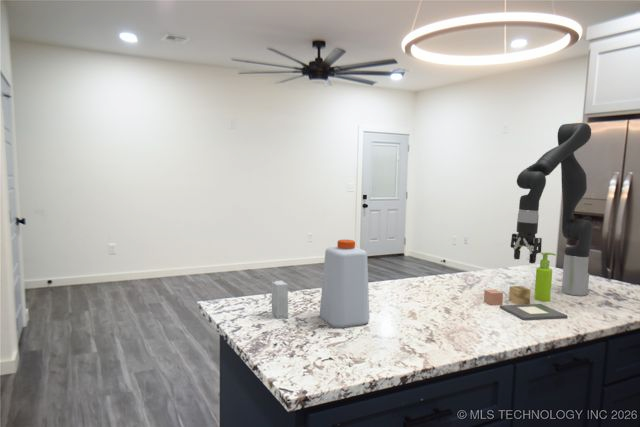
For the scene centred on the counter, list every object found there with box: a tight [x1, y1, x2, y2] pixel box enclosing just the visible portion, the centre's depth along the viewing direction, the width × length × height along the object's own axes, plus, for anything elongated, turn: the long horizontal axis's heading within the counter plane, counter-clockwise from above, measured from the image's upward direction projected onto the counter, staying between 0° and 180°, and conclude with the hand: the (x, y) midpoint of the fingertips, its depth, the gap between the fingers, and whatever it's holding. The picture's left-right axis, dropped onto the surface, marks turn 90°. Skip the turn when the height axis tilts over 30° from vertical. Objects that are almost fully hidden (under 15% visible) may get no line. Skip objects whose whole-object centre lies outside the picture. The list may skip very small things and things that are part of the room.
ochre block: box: [508, 285, 532, 305], centre depth 169 cm, size 6×6×6 cm
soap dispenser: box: [533, 251, 557, 302], centre depth 173 cm, size 6×7×20 cm
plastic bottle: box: [319, 239, 370, 328], centre depth 143 cm, size 15×15×28 cm
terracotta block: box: [483, 289, 504, 306], centre depth 167 cm, size 5×5×5 cm
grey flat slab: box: [499, 303, 568, 321], centre depth 156 cm, size 18×14×1 cm
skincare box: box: [270, 279, 289, 320], centre depth 146 cm, size 6×4×12 cm
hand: (524, 261), depth 167 cm, fingers open, 8 cm apart
